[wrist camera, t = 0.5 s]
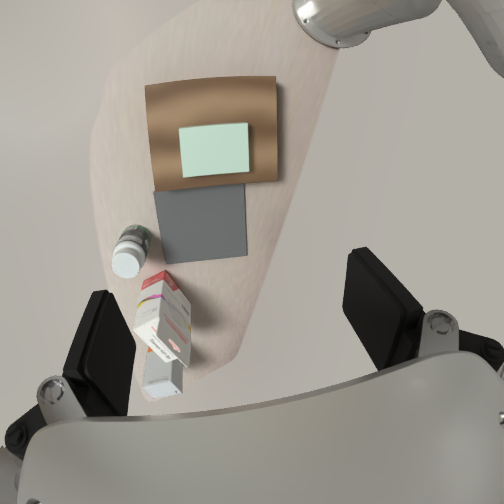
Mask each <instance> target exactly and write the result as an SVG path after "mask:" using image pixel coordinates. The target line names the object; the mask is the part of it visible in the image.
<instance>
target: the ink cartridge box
mask: <svg viewBox="0 0 504 504" xmlns="http://www.w3.org/2000/svg"><path fill="white" fill-rule="evenodd" d="M133 330H134V332H135V333H136V334H137V335H138V336H139V337H140V338H141V339H142V340H143V341H144V342H145V343H146V344H147V345H148V346H149V347H150V348H151V349H152V350H153V351H154V352H155V353H156V354H157V355H158V356H159V357H160V358H161V359H162V360H163V361H164V362H166V363H167V362H169V361H172V360H175V359H178V360H179V361H180V362H182V363H183V364H184V365H185V366H186V367H187V368H189V367H190V354H191V304H190V302H189V301H188V300H187V298H186V297H185V296H184V294H183V293H182V292H181V290H180V289H179V288H178V287H177V285H176V284H175V283H174V281H173V280H172V279H171V277H170V276H169V275H168V273H167V272H166V271H165V270H164V271H162V272H160V273H158V274H157V275H155V276H153V277H151V278H149V279H147V280H145V281H143V285H142V290H141V294H140V298H139V303H138V307H137V312H136V317H135V322H134V327H133Z"/></svg>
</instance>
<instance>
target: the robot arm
mask: <svg viewBox="0 0 504 504" xmlns="http://www.w3.org/2000/svg"><path fill="white" fill-rule="evenodd" d="M441 1H442V0H293V10H294V14H295V17H296V19H297V21H298V23H299V24H300V25H301V27H302V28H303V29H304V30H305V31H306V32H307V33H308V34H309V35H310V36H311V37H312V38H314V39H315V40H317V41H319V42H320V43H322V44H325V45H328V46H330V47H335V48H348V47H353V46H357V45H359V44H361V43H363V42H364V41H365V40H366V39H367V38H368V37H369V35H370V33H371V31H372V30H375V29H379V28H383V27H387V26H390V25H394V24H398V23H403V22H407V21H412V20H415V19H421V18H424V17H426V16H429V15H430V14H432V13H433V12H434V11H435V10H436V9H437V8H438V6H439V4H440V3H441ZM446 1H447V2H448V3H449V4H450V5H451V7H452V8H453V9H454V10H455V11H456V13H457V14H458V16H459V17H460V18H461V20H462V21H463V23H464V24H465V26H466V27H467V29H468V30H469V32H470V33H471V35H472V37H473V38H474V40H475V42H476V43H477V45H478V46H479V48H480V50H481V51H482V53H483V55H484V56H485V58H486V60H487V61H488V63H489V64H490V65H491V67H492V68H493V69H494V70H495V71H496V72H497V73H498V74H499V75H500V76H501V77H503V78H504V0H446ZM303 21H305V22H306V23H304V22H303ZM336 42H337V44H336ZM342 307H343V312H344V314H345V316H346V317H347V319H348V320H349V322H350V324H351V325H352V327H353V329H354V331H355V332H356V334H357V335H358V337H359V339H360V341H361V342H362V344H363V346H364V347H365V349H366V351H367V352H368V354H369V356H370V358H371V359H372V361H373V363H374V365H375V366H376V368H377V370H378V371H377V372H375V373H372V374H368V375H365V376H362V377H359V378H356V379H353V380H350V381H346V382H343V383H340V384H336V385H333V386H329V387H325V388H322V389H318V390H314V391H310V392H306V393H302V394H298V395H294V396H289V397H285V398H281V399H275V400H271V401H265V402H261V403H255V404H249V405H243V406H237V407H231V408H224V409H217V410H208V411H200V412H190V413H179V414H167V415H147V416H127V412H128V402H129V394H130V386H131V379H132V372H133V365H134V358H135V352H136V343H135V340H134V338H133V336H132V334H131V332H130V330H129V328H128V326H127V324H126V322H125V319H124V317H123V315H122V313H121V311H120V309H119V306H118V304H117V302H116V300H115V297H114V295H113V294H112V293H109V292H108V291H107V290H100V291H94V292H93V293H92V295H91V297H90V299H89V302H88V304H87V307H86V309H85V311H84V314H83V316H82V319H81V321H80V324H79V326H78V329H77V331H76V334H75V337H74V340H73V342H72V345H71V347H70V350H69V353H68V356H67V359H66V362H65V365H64V368H63V374H62V377H61V376H56V375H55V376H51V377H49V378H47V379H45V380H44V381H43V382H42V383H41V385H40V386H39V388H38V391H37V396H36V397H37V401H38V404H37V405H36V406H34V407H33V408H32V409H30V410H29V411H28V412H27V413H25V414H24V415H23V416H22V417H20V418H19V419H18V420H16V421H15V422H14V423H13V424H11V425H10V426H9V428H8V429H7V431H6V435H5V445H6V447H5V448H4V447H3V446H2V447H1V448H0V504H504V348H503V347H502V346H501V344H500V343H499V342H497V341H496V340H494V339H491V338H488V337H484V336H480V335H477V334H473V333H470V332H466V331H462V330H459V327H458V322H457V320H456V319H455V318H454V317H453V316H452V315H451V314H449V313H448V312H446V311H443V310H431V311H429V312H427V313H425V312H424V311H423V307H422V306H421V305H420V303H419V302H418V301H417V300H416V299H415V298H414V297H413V296H412V294H411V293H410V292H409V291H408V290H407V289H406V288H405V287H404V286H403V284H402V283H401V282H400V281H399V280H398V279H397V278H396V277H395V276H394V275H393V274H392V273H391V271H390V270H388V268H387V267H386V266H385V265H384V264H383V263H382V262H381V261H380V260H379V259H378V258H377V257H376V256H375V255H374V254H373V253H372V252H371V251H370V250H369V249H368V248H367V247H363V248H357V249H353V250H352V252H351V253H350V254H349V255H348V261H347V271H346V280H345V289H344V297H343V305H342Z"/></svg>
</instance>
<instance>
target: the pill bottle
mask: <svg viewBox="0 0 504 504" xmlns="http://www.w3.org/2000/svg"><path fill="white" fill-rule="evenodd" d="M150 241H151V239H150V235H149V233H148V231H147V230H146V229H145V228H144V227H142V226H139V225H131V226H129V227H127V228H126V229H125V230H124V231H123V233H122V235H121V237H120V239H119V241H118V243H117V244H116V246H115V249H114V251H113V259H112V269H113V271H114V272H115V273H116V274H117V275H118V276H119V277H121V278H125V279H130V278H133V277H135V276H136V275H137V274H138V273H139V271H140V269H141V268H142V267H143V265H144V263H145V260H146V256H147V253H148V249H149V246H150Z"/></svg>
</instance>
